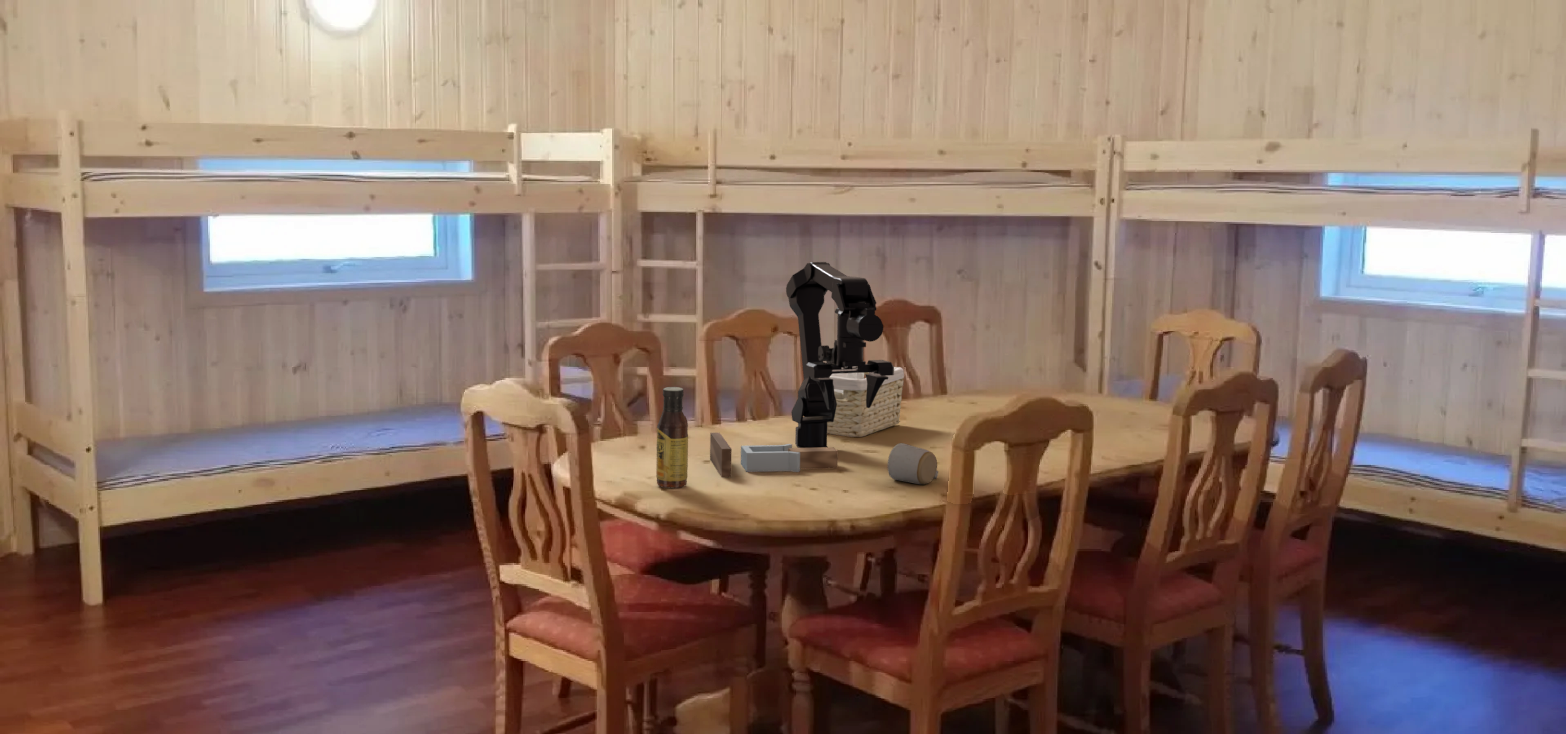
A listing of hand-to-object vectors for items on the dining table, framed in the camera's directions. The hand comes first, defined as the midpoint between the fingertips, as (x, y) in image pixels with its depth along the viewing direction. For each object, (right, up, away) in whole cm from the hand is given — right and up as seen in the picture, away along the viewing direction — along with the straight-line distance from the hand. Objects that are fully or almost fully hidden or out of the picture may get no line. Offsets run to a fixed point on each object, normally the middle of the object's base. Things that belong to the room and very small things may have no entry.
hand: (848, 408), depth 311 cm
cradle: (-17, -12, -2) cm, 21 cm away
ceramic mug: (+13, -15, -12) cm, 23 cm away
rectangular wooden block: (-8, -13, 0) cm, 15 cm away
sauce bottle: (-36, -15, -22) cm, 45 cm away
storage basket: (+3, -7, +45) cm, 46 cm away
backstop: (-27, -13, -4) cm, 31 cm away
